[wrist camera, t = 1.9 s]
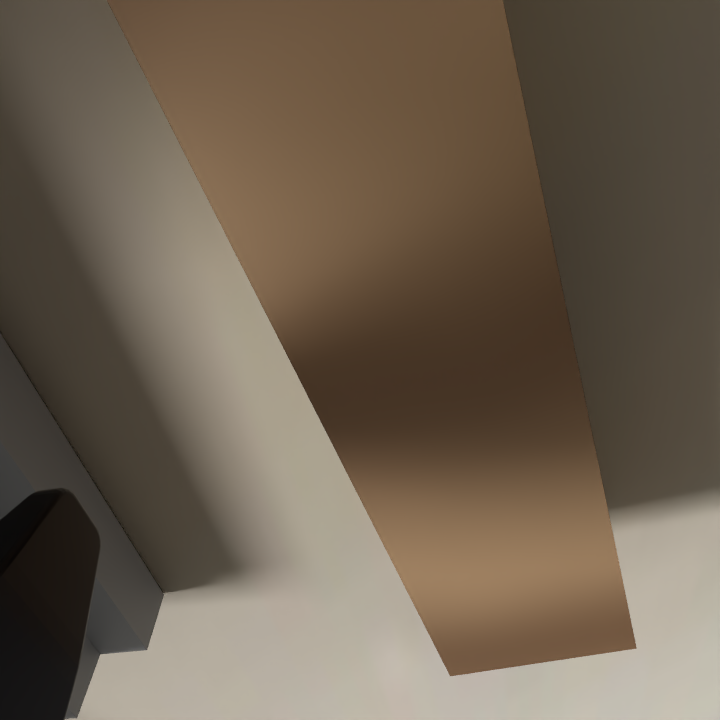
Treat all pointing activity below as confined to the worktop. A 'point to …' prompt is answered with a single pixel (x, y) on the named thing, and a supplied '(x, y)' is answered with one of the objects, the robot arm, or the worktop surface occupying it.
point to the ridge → (64, 470)
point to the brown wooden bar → (409, 293)
